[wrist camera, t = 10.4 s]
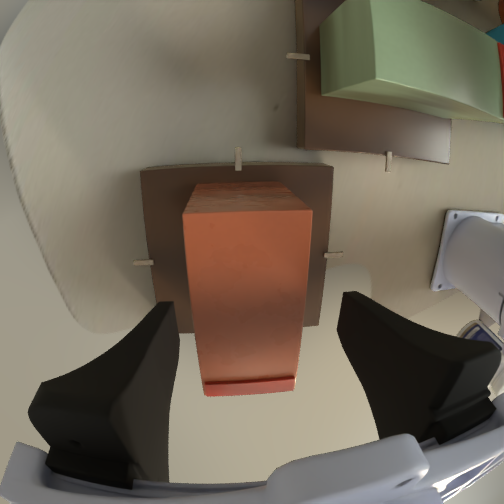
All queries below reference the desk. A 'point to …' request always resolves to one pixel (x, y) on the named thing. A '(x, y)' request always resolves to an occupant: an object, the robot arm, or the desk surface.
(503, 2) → the binoculars
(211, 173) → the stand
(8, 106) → the desk surface
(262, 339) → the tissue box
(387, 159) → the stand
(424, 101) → the green box
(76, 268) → the desk surface
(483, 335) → the pill bottle
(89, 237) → the desk surface
